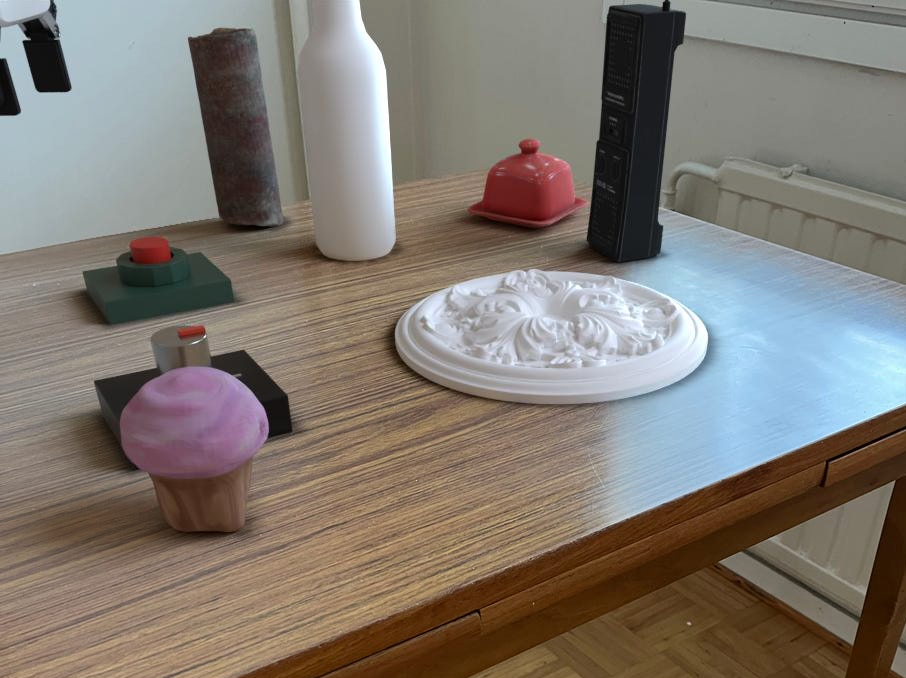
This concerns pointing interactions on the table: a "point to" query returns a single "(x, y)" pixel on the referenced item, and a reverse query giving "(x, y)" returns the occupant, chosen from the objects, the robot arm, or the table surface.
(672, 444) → the table surface
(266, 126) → the candle
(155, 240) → the button
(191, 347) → the dial
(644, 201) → the portable radio
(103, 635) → the table surface
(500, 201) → the butter dish
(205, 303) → the box
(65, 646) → the table surface
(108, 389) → the dial panel
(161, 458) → the cupcake
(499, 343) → the ceiling medallion
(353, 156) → the white bottle
